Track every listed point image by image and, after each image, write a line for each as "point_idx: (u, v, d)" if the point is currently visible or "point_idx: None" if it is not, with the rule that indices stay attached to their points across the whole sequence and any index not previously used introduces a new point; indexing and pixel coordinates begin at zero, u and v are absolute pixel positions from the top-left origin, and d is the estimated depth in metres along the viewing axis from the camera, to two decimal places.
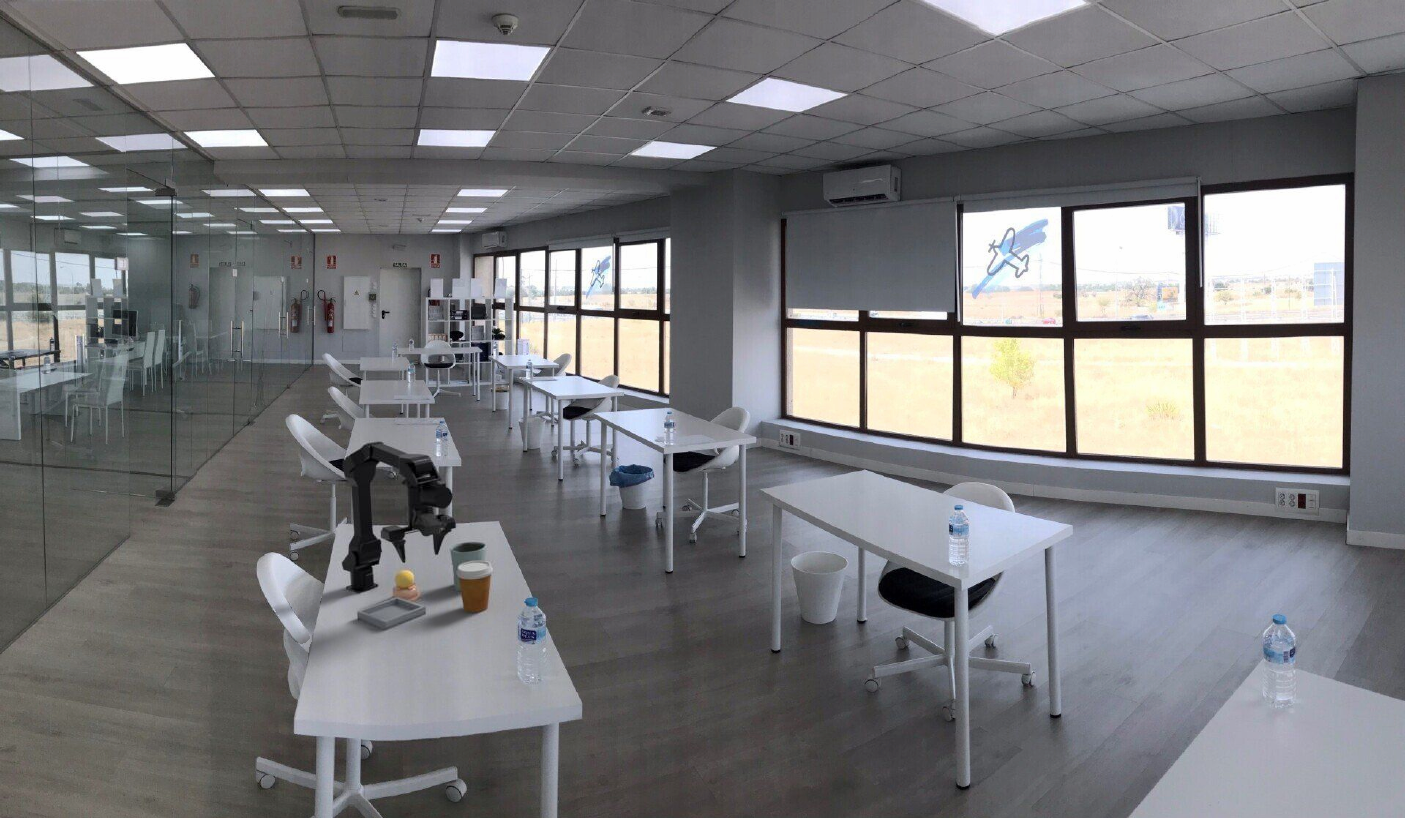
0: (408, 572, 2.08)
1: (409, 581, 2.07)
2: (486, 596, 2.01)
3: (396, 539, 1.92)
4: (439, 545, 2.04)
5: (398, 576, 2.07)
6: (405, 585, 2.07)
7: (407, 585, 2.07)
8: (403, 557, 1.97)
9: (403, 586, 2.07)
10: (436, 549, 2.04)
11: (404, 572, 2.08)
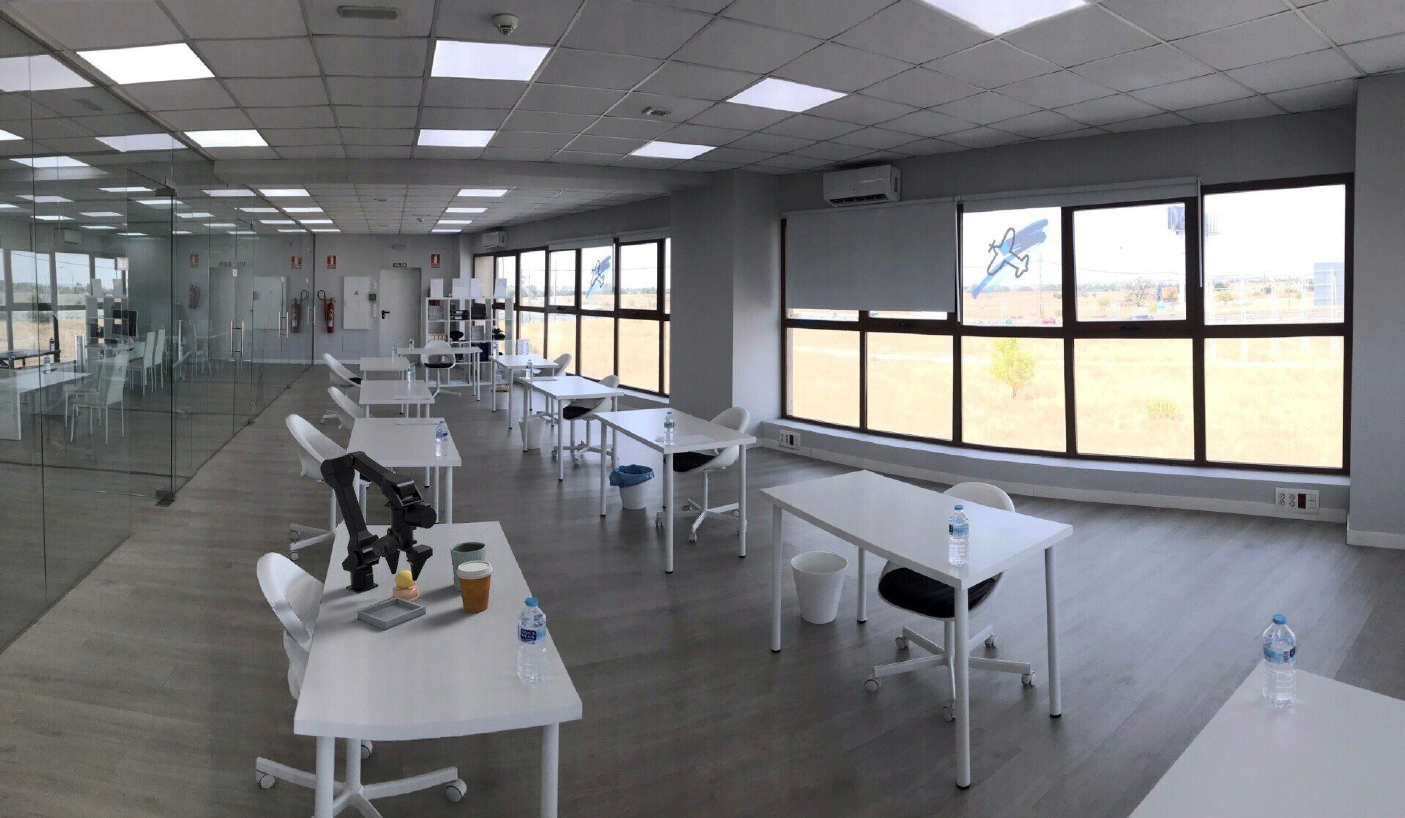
0: (408, 572, 2.08)
1: (409, 581, 2.07)
2: (486, 596, 2.01)
3: None
4: (412, 572, 2.05)
5: (398, 576, 2.07)
6: (405, 585, 2.07)
7: (407, 585, 2.07)
8: (390, 568, 2.10)
9: (403, 586, 2.07)
10: None
11: (404, 572, 2.08)
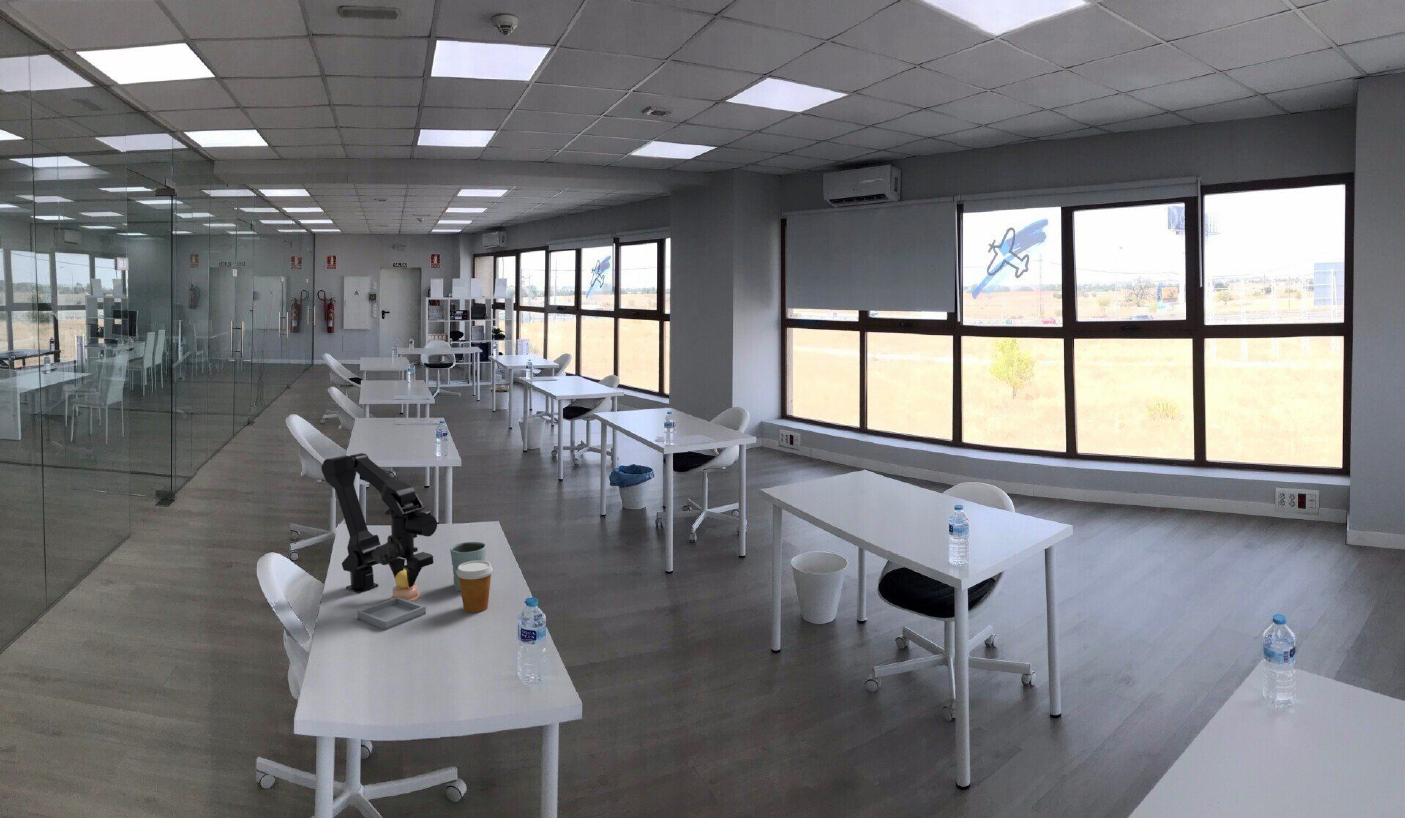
0: None
1: None
2: (486, 596, 2.01)
3: None
4: (408, 578, 2.06)
5: (398, 576, 2.07)
6: (405, 585, 2.07)
7: (407, 585, 2.07)
8: None
9: (403, 586, 2.07)
10: None
11: (404, 572, 2.08)
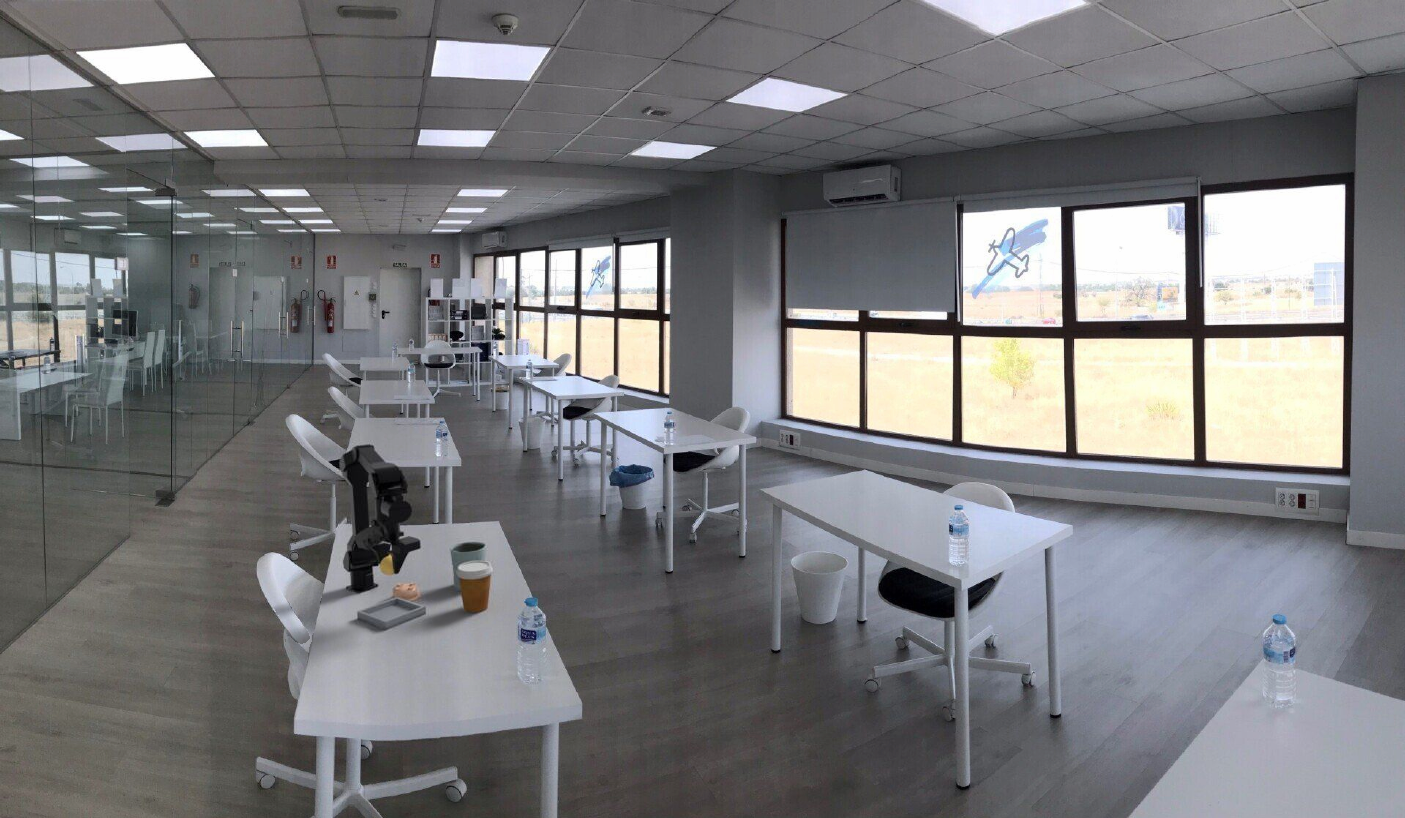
0: None
1: None
2: (486, 596, 2.01)
3: None
4: (393, 565, 1.92)
5: (383, 562, 1.93)
6: (390, 571, 1.93)
7: (393, 572, 1.94)
8: (379, 564, 1.96)
9: (388, 573, 1.93)
10: None
11: (389, 558, 1.94)
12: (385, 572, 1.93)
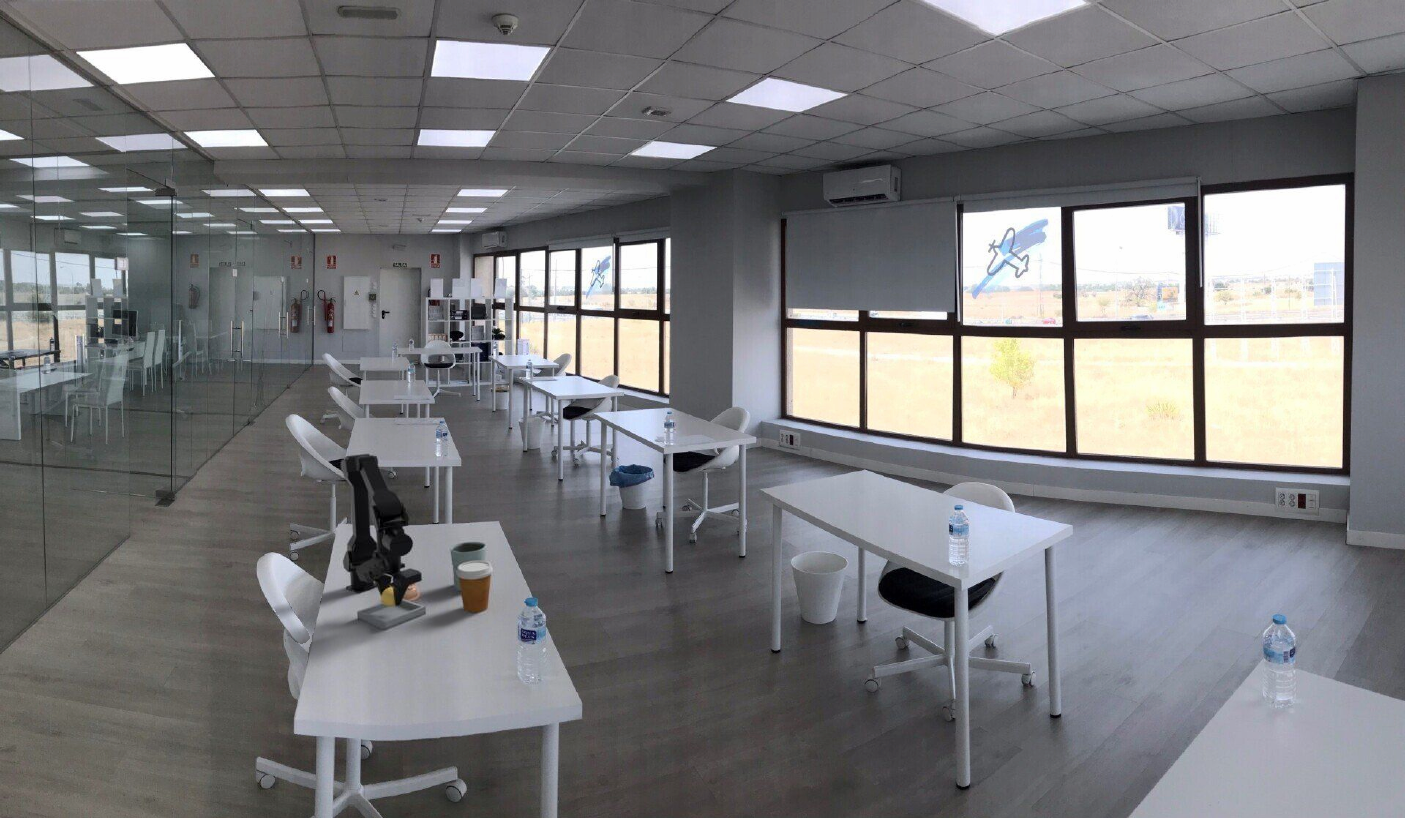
0: None
1: None
2: (486, 596, 2.01)
3: None
4: (394, 597, 1.94)
5: (384, 594, 1.94)
6: (391, 603, 1.94)
7: (394, 603, 1.95)
8: None
9: (389, 604, 1.94)
10: None
11: (391, 589, 1.95)
12: (386, 604, 1.94)
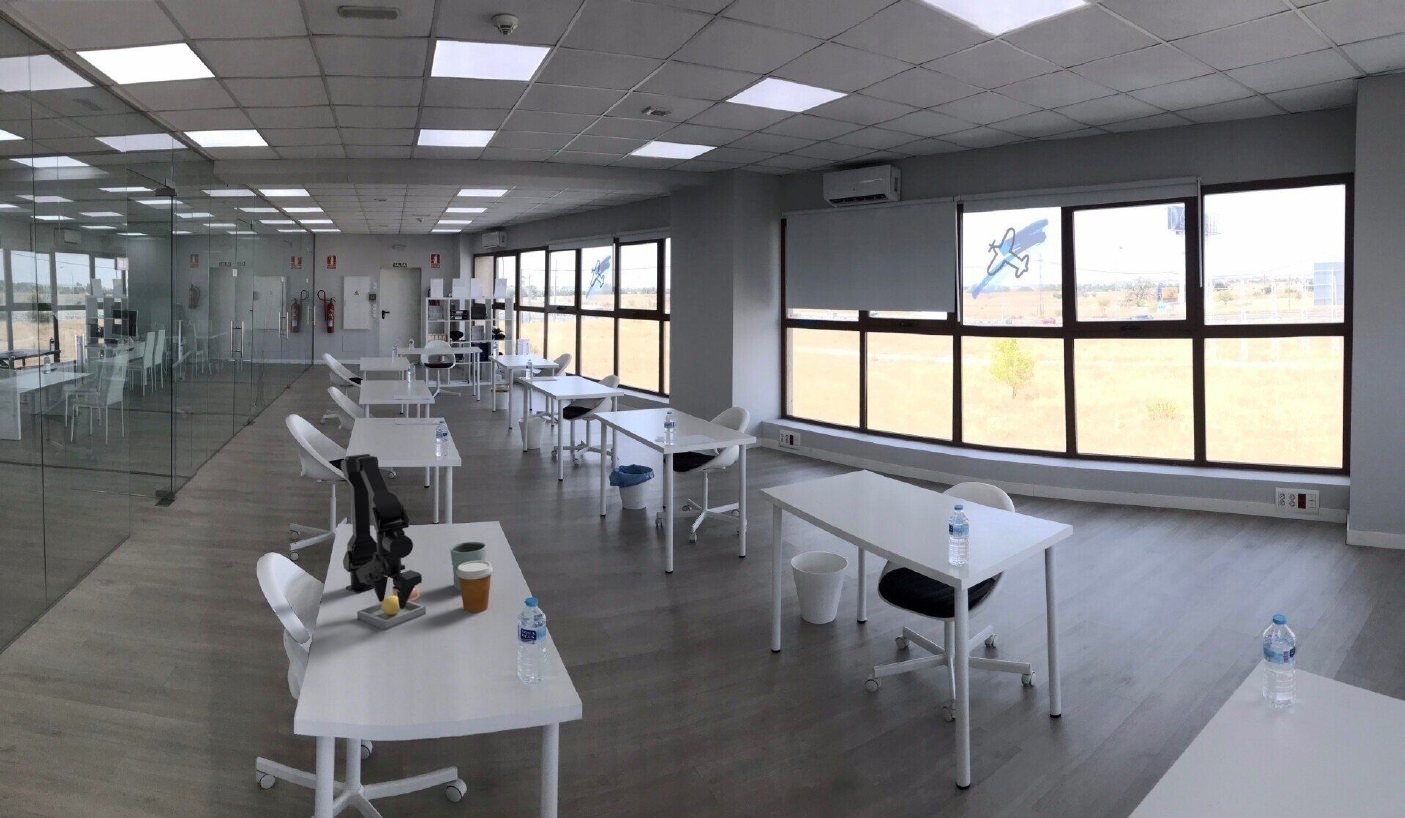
0: (395, 598, 1.96)
1: (396, 607, 1.95)
2: (486, 596, 2.01)
3: None
4: (399, 600, 1.93)
5: (385, 603, 1.94)
6: (392, 611, 1.95)
7: (394, 612, 1.95)
8: (377, 595, 1.98)
9: (390, 613, 1.95)
10: None
11: (391, 598, 1.95)
12: (387, 612, 1.95)
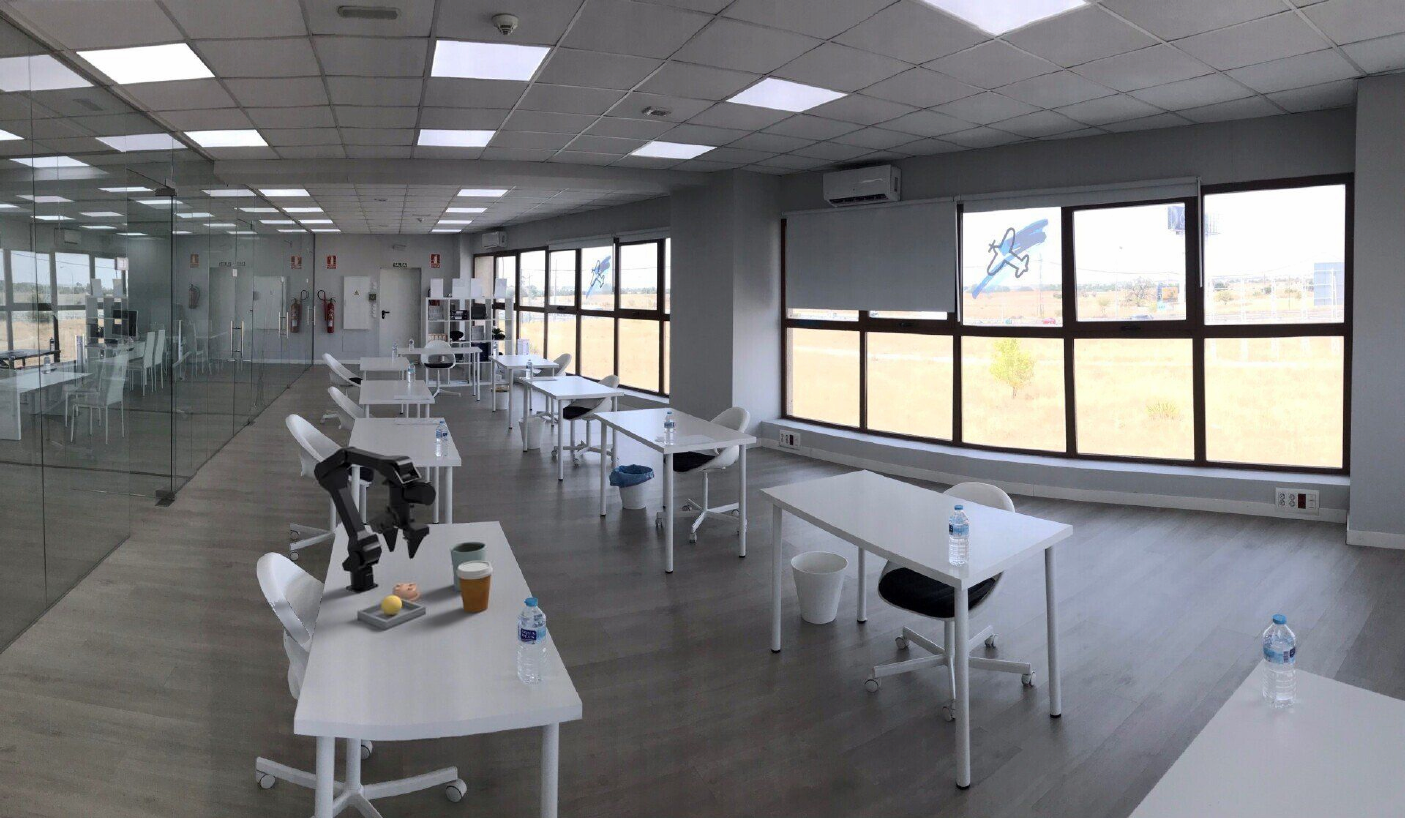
0: (395, 598, 1.96)
1: (396, 607, 1.95)
2: (486, 596, 2.01)
3: None
4: (408, 550, 2.06)
5: (384, 603, 1.95)
6: (392, 611, 1.95)
7: (394, 611, 1.95)
8: (388, 546, 2.12)
9: (390, 613, 1.95)
10: None
11: (391, 598, 1.95)
12: (387, 612, 1.95)
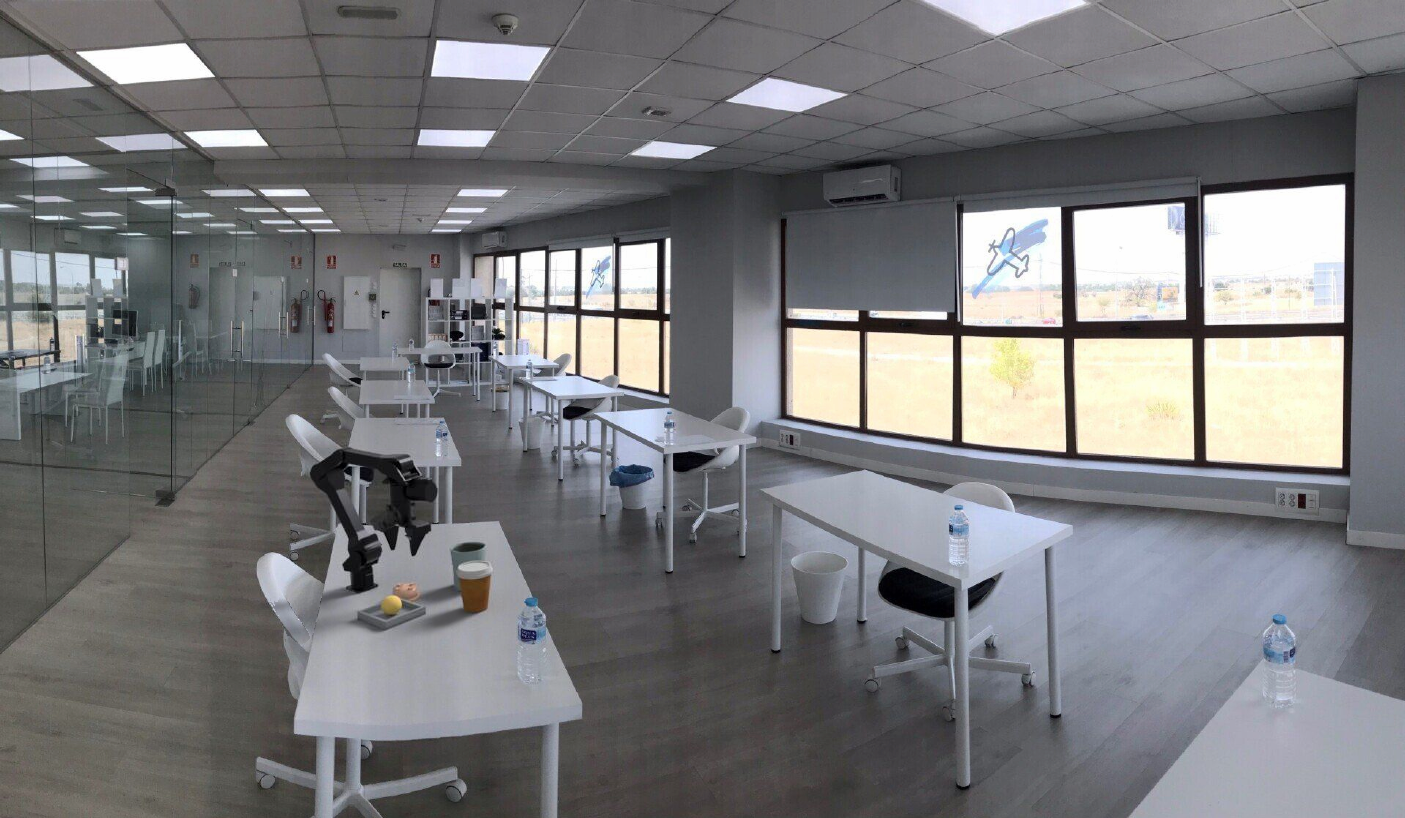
0: (395, 597, 1.96)
1: (396, 607, 1.95)
2: (486, 596, 2.01)
3: None
4: (411, 547, 2.07)
5: (384, 603, 1.95)
6: (392, 611, 1.95)
7: (394, 611, 1.95)
8: (389, 544, 2.13)
9: (390, 613, 1.95)
10: None
11: (391, 598, 1.95)
12: (386, 612, 1.95)
